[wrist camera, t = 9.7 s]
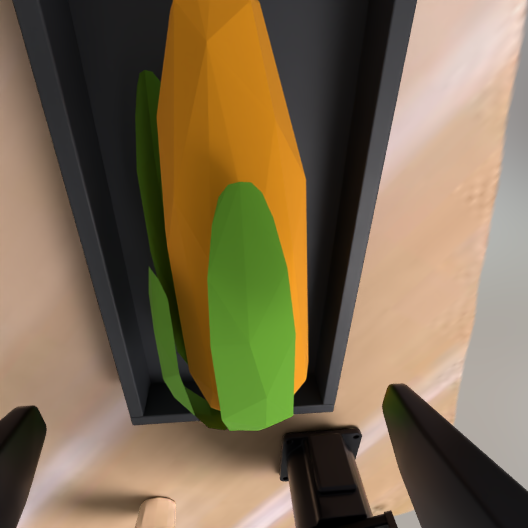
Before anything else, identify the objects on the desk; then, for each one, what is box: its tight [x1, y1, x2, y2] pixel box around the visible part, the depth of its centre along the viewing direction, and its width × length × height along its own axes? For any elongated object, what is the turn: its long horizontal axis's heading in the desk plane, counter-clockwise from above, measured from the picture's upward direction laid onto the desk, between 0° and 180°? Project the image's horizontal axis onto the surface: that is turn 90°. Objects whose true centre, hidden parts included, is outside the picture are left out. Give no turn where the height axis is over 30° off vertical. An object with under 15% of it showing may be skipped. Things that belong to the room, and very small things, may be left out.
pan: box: [12, 0, 417, 425], centre depth 17 cm, size 25×13×3 cm, turn 178°
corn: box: [135, 0, 308, 431], centre depth 14 cm, size 7×8×20 cm
